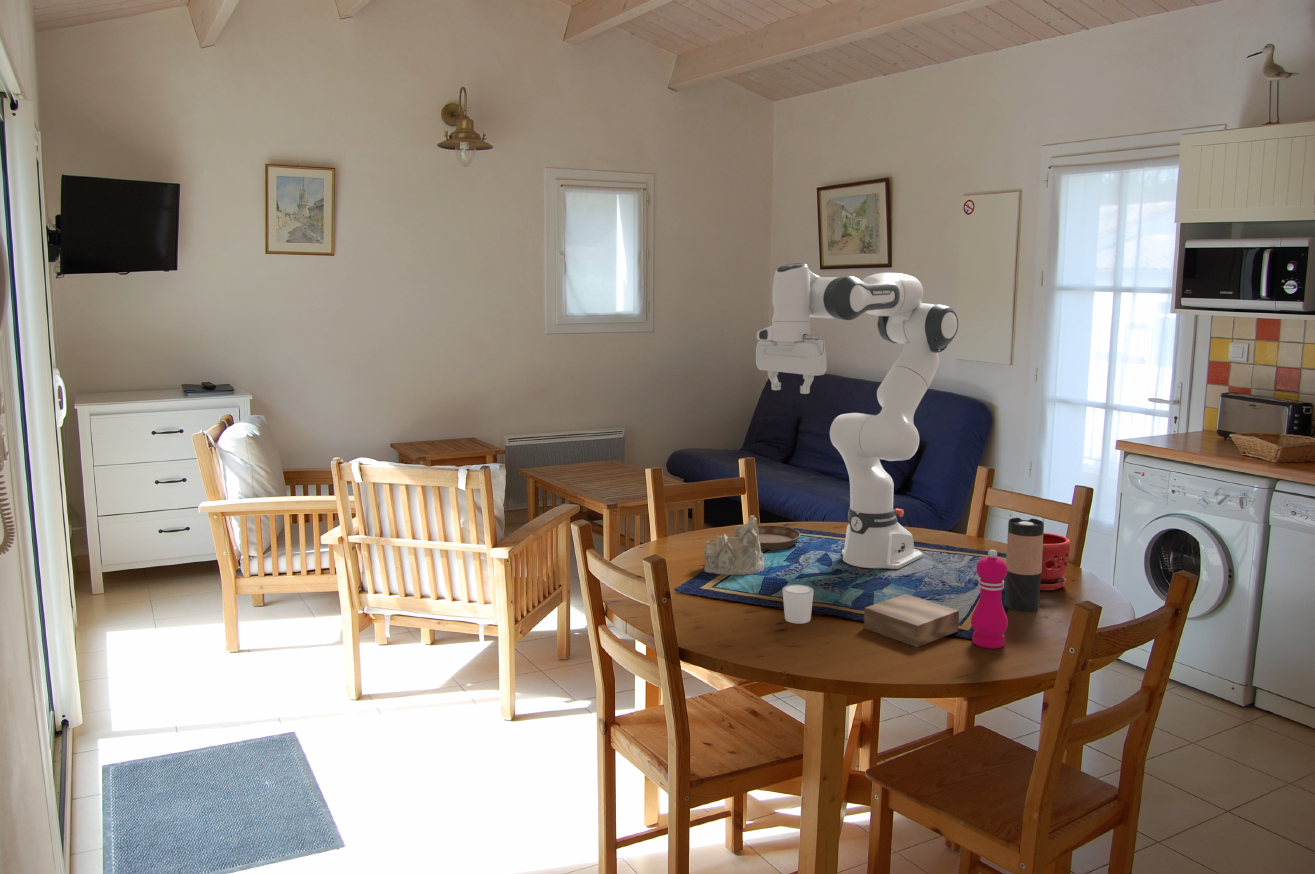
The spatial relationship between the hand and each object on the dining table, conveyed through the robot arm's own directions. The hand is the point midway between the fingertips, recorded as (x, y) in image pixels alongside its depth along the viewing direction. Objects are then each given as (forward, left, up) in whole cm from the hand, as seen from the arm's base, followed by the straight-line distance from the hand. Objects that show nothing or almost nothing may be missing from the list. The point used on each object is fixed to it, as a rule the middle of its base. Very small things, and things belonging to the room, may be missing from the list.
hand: (790, 391), depth 232 cm
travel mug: (-30, +45, -48) cm, 72 cm away
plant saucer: (-23, -30, -48) cm, 61 cm away
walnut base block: (+1, +38, -48) cm, 61 cm away
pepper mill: (-5, +53, -48) cm, 72 cm away
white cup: (+15, +18, -48) cm, 54 cm away
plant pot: (-47, +39, -48) cm, 78 cm away
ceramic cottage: (-1, -20, -48) cm, 52 cm away
